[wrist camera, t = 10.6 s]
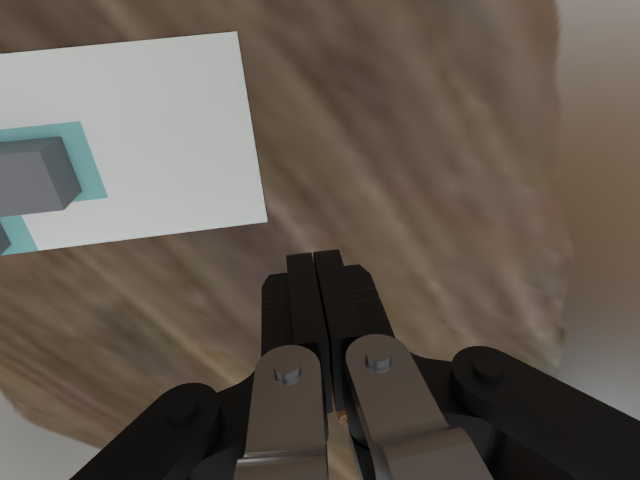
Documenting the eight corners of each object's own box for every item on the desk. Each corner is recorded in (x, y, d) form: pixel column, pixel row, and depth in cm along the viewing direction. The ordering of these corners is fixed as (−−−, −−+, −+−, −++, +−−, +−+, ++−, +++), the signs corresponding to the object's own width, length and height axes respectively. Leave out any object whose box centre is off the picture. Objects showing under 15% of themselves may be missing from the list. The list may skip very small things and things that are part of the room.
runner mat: (-151, 68, 31) (-155, 69, 31) (237, 31, 33) (236, 31, 33) (-36, 258, 40) (-38, 260, 40) (267, 220, 42) (267, 221, 41)
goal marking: (-129, 81, 32) (-133, 81, 32) (60, 62, 33) (58, 62, 32) (-25, 257, 40) (-27, 258, 40) (124, 238, 41) (123, 240, 41)
